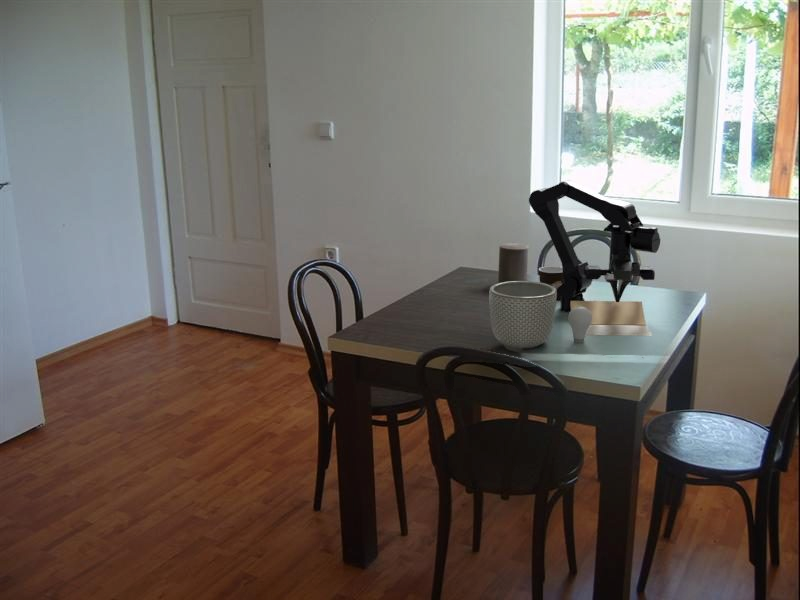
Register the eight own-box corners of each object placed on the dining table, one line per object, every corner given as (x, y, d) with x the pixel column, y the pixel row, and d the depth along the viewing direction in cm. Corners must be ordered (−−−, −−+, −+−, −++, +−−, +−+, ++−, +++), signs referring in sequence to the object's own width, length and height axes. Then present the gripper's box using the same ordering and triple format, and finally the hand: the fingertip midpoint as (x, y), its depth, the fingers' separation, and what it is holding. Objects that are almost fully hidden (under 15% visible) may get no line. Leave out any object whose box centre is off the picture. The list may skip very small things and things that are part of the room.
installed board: (576, 339, 222) (576, 334, 222) (572, 329, 231) (572, 324, 230) (652, 341, 220) (652, 335, 220) (645, 330, 229) (646, 325, 228)
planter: (485, 356, 210) (486, 296, 206) (490, 335, 226) (491, 279, 222) (554, 360, 207) (556, 298, 203) (554, 338, 223) (556, 281, 219)
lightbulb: (569, 342, 220) (570, 302, 217) (592, 344, 218) (594, 304, 215) (564, 349, 215) (566, 309, 212) (588, 352, 212) (590, 311, 209)
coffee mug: (537, 303, 256) (538, 272, 254) (537, 296, 265) (538, 266, 262) (575, 304, 254) (576, 273, 252) (574, 297, 263) (576, 267, 260)
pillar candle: (499, 289, 274) (500, 245, 269) (497, 281, 283) (498, 239, 279) (528, 289, 273) (530, 245, 269) (525, 282, 283) (527, 239, 278)
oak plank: (572, 327, 231) (572, 323, 230) (570, 304, 238) (570, 300, 237) (645, 328, 229) (645, 324, 228) (641, 304, 236) (641, 301, 235)
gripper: (590, 254, 223) (587, 309, 228) (660, 254, 222) (656, 310, 226) (585, 245, 234) (582, 298, 238) (652, 246, 232) (648, 299, 236)
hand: (617, 301), depth 234 cm, fingers closed
